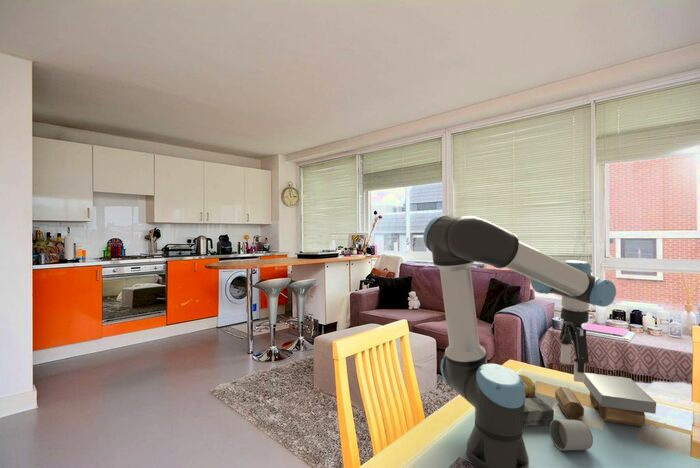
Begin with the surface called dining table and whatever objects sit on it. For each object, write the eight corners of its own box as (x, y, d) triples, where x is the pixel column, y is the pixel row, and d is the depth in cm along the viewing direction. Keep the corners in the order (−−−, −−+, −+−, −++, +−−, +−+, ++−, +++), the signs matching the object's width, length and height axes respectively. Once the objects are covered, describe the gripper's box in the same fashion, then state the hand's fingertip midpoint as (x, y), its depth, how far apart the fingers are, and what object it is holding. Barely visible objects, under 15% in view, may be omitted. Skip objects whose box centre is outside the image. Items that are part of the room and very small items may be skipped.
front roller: (644, 429, 108) (645, 410, 108) (606, 424, 111) (607, 405, 110) (634, 418, 114) (635, 400, 113) (598, 413, 117) (599, 395, 116)
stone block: (494, 411, 117) (495, 395, 117) (536, 410, 118) (537, 395, 118) (508, 427, 109) (509, 410, 108) (553, 426, 109) (554, 409, 109)
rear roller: (631, 415, 116) (632, 397, 115) (596, 410, 118) (597, 392, 118) (622, 405, 122) (623, 388, 121) (589, 400, 124) (590, 384, 124)
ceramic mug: (594, 455, 96) (596, 428, 96) (566, 457, 95) (567, 429, 95) (567, 432, 107) (568, 407, 106) (541, 433, 106) (542, 407, 106)
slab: (601, 406, 110) (602, 395, 110) (582, 382, 125) (583, 372, 125) (655, 413, 106) (656, 402, 106) (629, 388, 122) (630, 378, 121)
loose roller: (563, 417, 114) (564, 400, 114) (554, 401, 124) (555, 386, 123) (583, 420, 112) (584, 403, 112) (572, 404, 122) (573, 388, 122)
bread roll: (525, 387, 133) (527, 366, 132) (545, 401, 123) (546, 379, 123) (495, 391, 130) (496, 369, 130) (513, 405, 121) (514, 382, 120)
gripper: (604, 321, 103) (600, 392, 104) (575, 299, 127) (572, 357, 128) (574, 318, 105) (571, 388, 106) (551, 298, 129) (548, 355, 130)
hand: (571, 371), depth 117 cm, fingers open, 13 cm apart
